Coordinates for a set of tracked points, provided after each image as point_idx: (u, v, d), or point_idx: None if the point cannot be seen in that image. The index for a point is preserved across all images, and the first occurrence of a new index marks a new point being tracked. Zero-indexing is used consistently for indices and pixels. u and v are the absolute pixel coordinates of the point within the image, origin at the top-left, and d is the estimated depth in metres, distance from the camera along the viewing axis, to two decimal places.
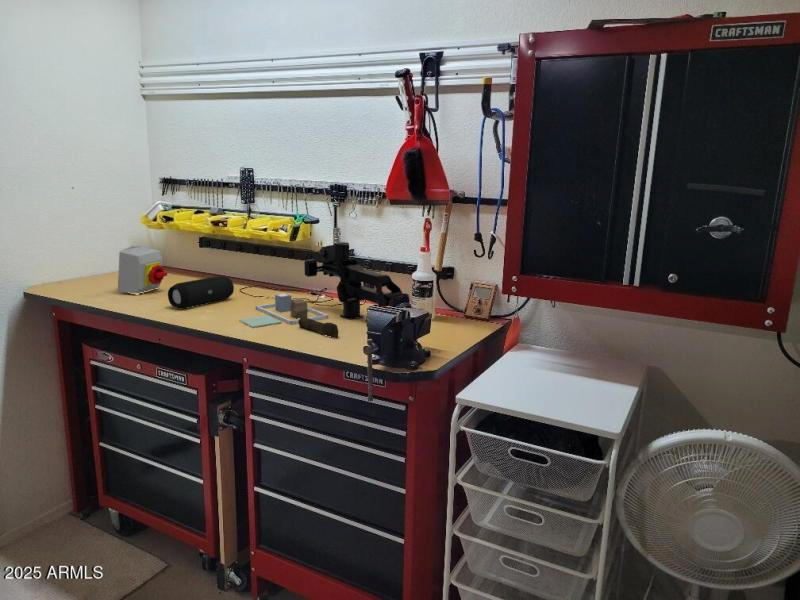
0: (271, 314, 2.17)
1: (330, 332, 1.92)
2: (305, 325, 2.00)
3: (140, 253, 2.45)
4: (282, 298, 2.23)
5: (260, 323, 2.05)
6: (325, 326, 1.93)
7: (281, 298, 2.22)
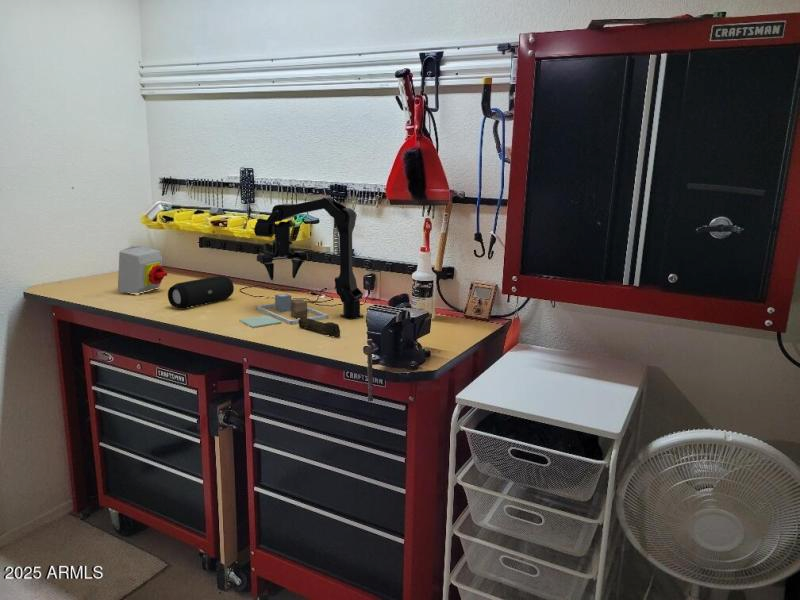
0: (271, 314, 2.17)
1: (332, 331, 1.92)
2: (305, 325, 2.00)
3: (140, 253, 2.45)
4: (282, 298, 2.23)
5: (260, 323, 2.05)
6: (326, 326, 1.93)
7: (281, 298, 2.22)
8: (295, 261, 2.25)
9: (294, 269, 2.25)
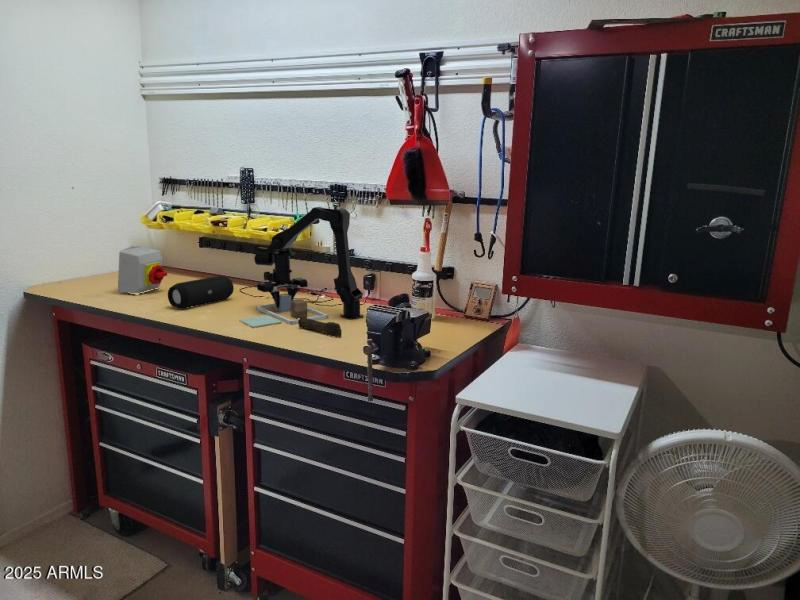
0: (271, 314, 2.17)
1: (333, 331, 1.93)
2: (305, 325, 2.00)
3: (140, 253, 2.45)
4: (282, 298, 2.23)
5: (260, 323, 2.05)
6: (327, 326, 1.94)
7: (281, 298, 2.22)
8: (290, 289, 2.26)
9: None
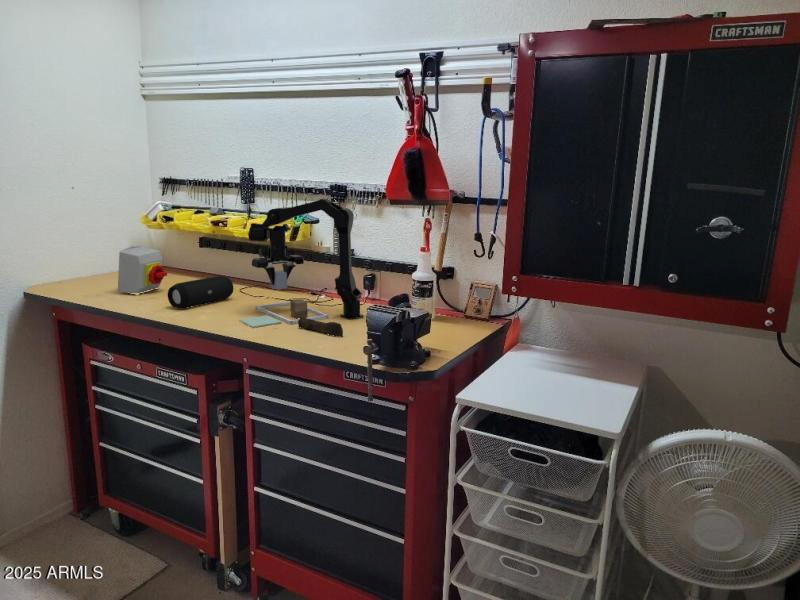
0: (271, 314, 2.17)
1: (334, 331, 1.93)
2: (305, 325, 2.00)
3: (140, 253, 2.45)
4: (277, 274, 2.17)
5: (260, 323, 2.05)
6: (329, 325, 1.94)
7: (276, 274, 2.17)
8: (286, 266, 2.21)
9: None
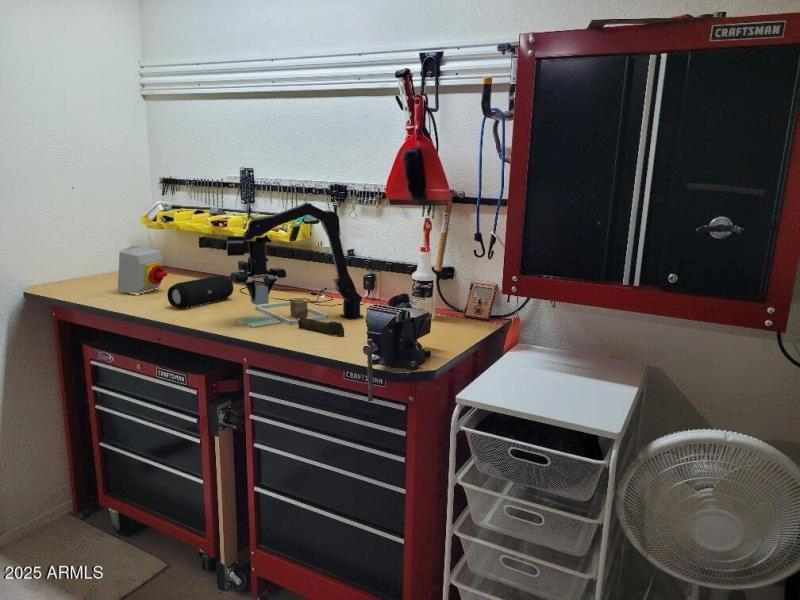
0: (271, 314, 2.17)
1: (335, 331, 1.94)
2: (306, 325, 2.00)
3: (140, 253, 2.45)
4: (258, 289, 2.03)
5: (260, 323, 2.05)
6: (330, 325, 1.94)
7: (257, 289, 2.03)
8: (267, 280, 2.07)
9: None
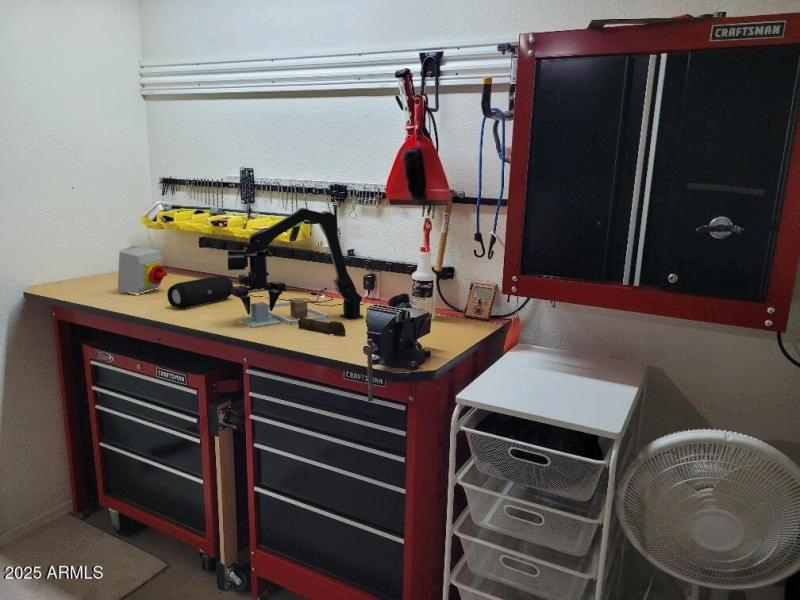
0: (271, 314, 2.17)
1: (337, 330, 1.94)
2: (306, 325, 2.00)
3: (140, 253, 2.45)
4: (258, 307, 2.05)
5: (260, 323, 2.05)
6: (331, 325, 1.95)
7: (257, 307, 2.05)
8: (272, 293, 2.09)
9: (271, 302, 2.09)
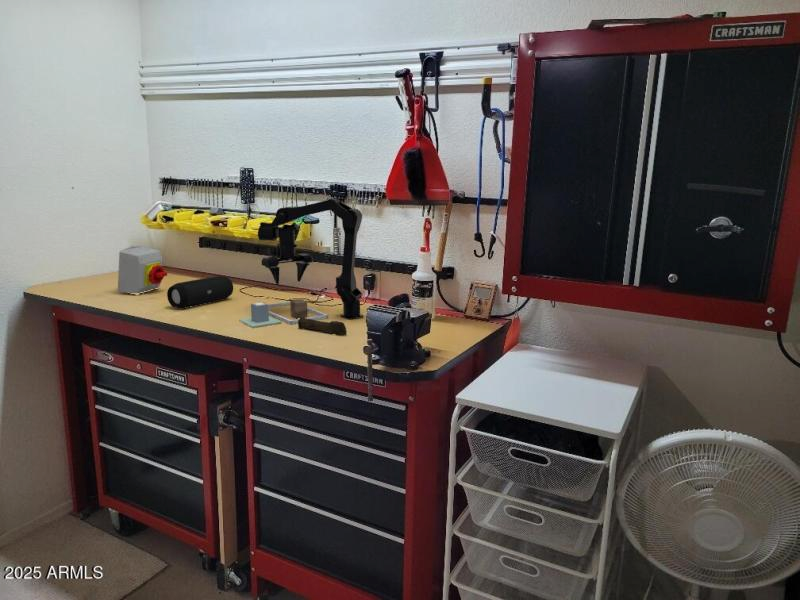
0: (271, 314, 2.17)
1: (338, 330, 1.94)
2: (306, 325, 2.00)
3: (140, 253, 2.45)
4: (258, 307, 2.05)
5: (260, 323, 2.05)
6: (332, 325, 1.95)
7: (257, 307, 2.05)
8: (300, 264, 2.22)
9: (299, 272, 2.23)
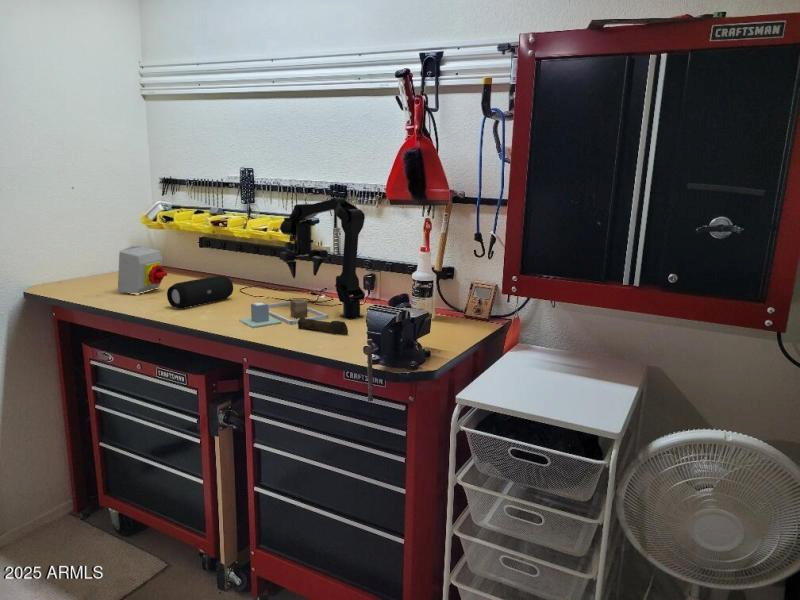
0: (271, 314, 2.17)
1: (339, 329, 1.95)
2: (306, 325, 2.00)
3: (140, 253, 2.45)
4: (258, 307, 2.05)
5: (260, 323, 2.05)
6: (333, 324, 1.95)
7: (257, 307, 2.05)
8: (316, 259, 2.32)
9: (315, 267, 2.32)
